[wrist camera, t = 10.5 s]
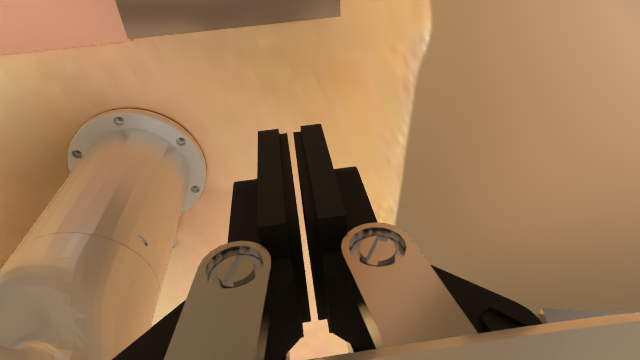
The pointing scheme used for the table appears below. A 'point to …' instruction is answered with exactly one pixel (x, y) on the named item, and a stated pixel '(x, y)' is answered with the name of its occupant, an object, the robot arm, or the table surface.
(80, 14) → the mat
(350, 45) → the table surface
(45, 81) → the table surface
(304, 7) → the deck
